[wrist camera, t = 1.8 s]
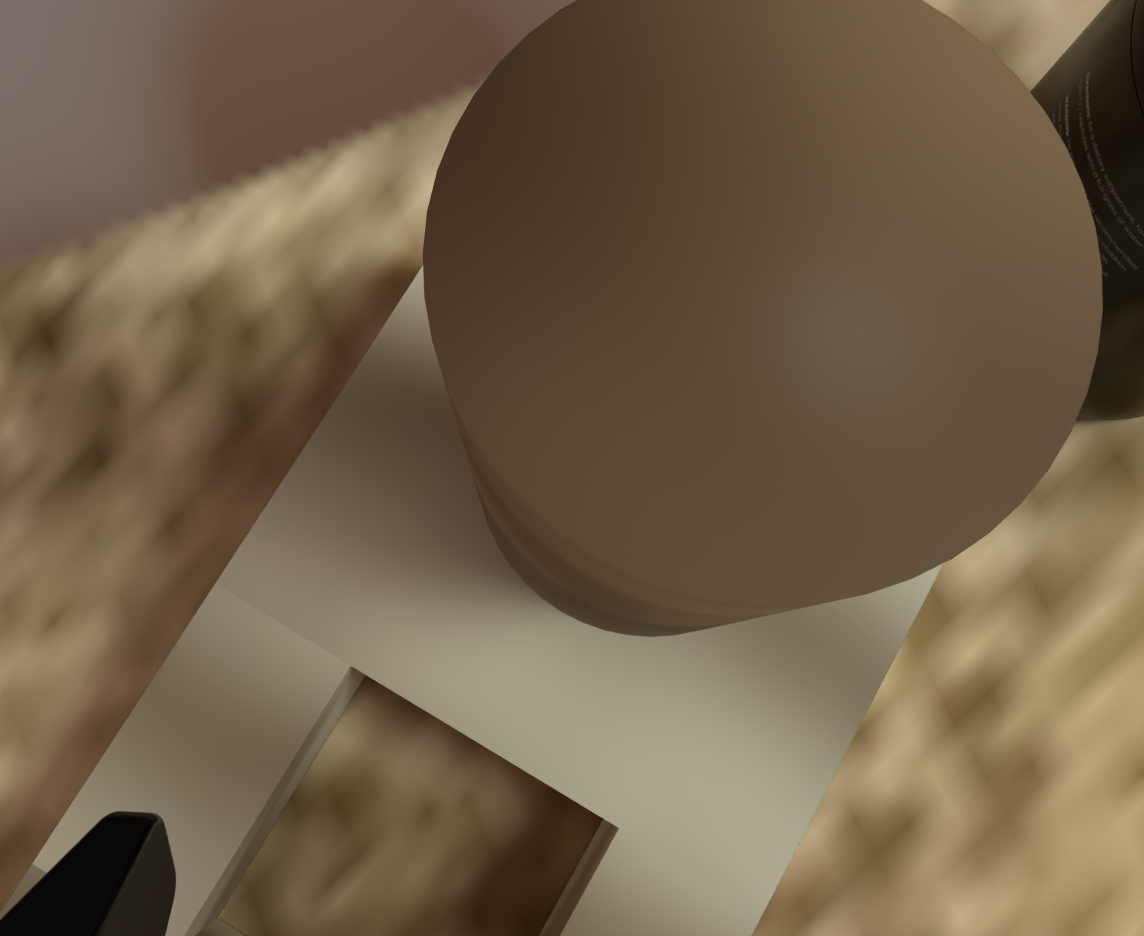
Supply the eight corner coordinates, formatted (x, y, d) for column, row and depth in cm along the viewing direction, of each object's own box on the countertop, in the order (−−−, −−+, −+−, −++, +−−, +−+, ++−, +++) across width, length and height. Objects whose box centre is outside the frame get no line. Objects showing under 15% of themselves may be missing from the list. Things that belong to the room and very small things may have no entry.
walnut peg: (672, 695, 19) (914, 742, 7) (438, 556, 19) (287, 374, 7) (801, 463, 20) (1209, 156, 8) (574, 333, 20) (639, -154, 8)
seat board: (514, 1304, 19) (512, 1398, 17) (3, 977, 20) (-72, 1021, 17) (916, 537, 22) (965, 521, 20) (457, 274, 23) (448, 225, 20)
